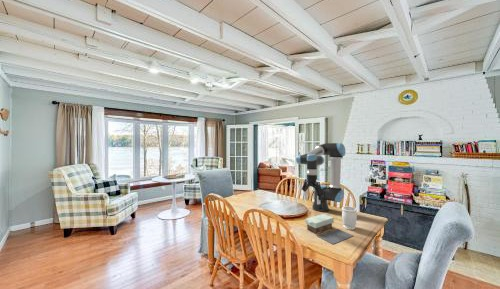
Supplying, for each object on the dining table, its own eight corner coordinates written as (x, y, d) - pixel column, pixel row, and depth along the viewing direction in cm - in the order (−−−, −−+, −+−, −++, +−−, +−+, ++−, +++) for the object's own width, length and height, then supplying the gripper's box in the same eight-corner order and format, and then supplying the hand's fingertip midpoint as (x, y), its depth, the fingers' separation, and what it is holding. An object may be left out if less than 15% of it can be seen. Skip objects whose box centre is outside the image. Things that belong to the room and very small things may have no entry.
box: (323, 224, 165) (323, 215, 165) (331, 228, 158) (331, 219, 158) (307, 229, 156) (307, 220, 156) (315, 233, 149) (315, 224, 149)
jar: (344, 223, 166) (344, 205, 165) (358, 227, 159) (358, 207, 159) (340, 228, 157) (340, 209, 157) (354, 232, 151) (355, 211, 150)
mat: (337, 229, 156) (337, 228, 156) (353, 236, 145) (353, 235, 145) (317, 236, 145) (317, 235, 145) (332, 244, 134) (332, 244, 134)
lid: (323, 218, 166) (323, 213, 166) (333, 222, 157) (333, 217, 157) (303, 224, 155) (303, 219, 155) (313, 228, 147) (313, 224, 146)
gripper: (297, 172, 167) (297, 198, 167) (321, 177, 145) (321, 207, 145) (304, 171, 170) (304, 197, 171) (328, 176, 148) (328, 205, 149)
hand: (312, 201), depth 158 cm, fingers open, 13 cm apart
